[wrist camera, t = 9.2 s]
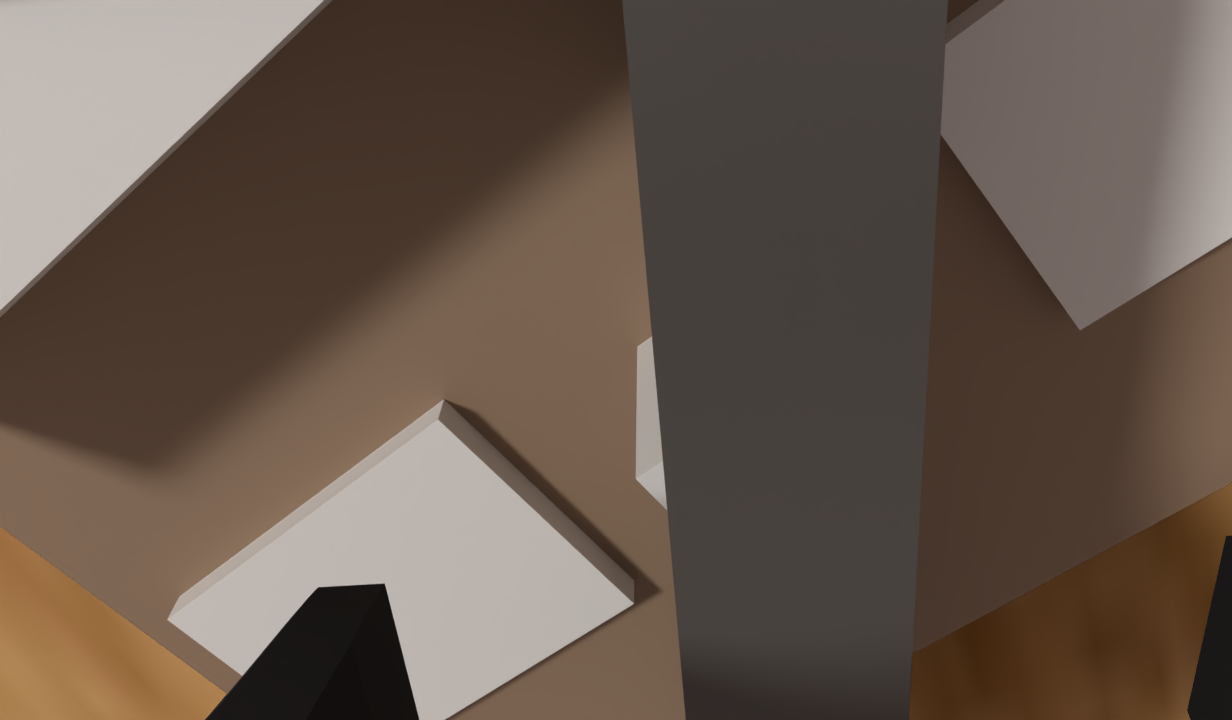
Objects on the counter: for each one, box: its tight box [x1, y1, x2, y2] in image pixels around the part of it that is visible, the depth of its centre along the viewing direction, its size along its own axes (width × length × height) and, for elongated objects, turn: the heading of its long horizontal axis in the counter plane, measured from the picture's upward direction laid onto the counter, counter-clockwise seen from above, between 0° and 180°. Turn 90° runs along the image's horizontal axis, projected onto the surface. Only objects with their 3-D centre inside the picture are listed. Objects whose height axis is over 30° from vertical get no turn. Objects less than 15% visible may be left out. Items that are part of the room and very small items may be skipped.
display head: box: [0, 0, 1232, 720], centre depth 12 cm, size 20×20×5 cm
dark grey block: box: [622, 0, 948, 720], centre depth 12 cm, size 11×14×5 cm
